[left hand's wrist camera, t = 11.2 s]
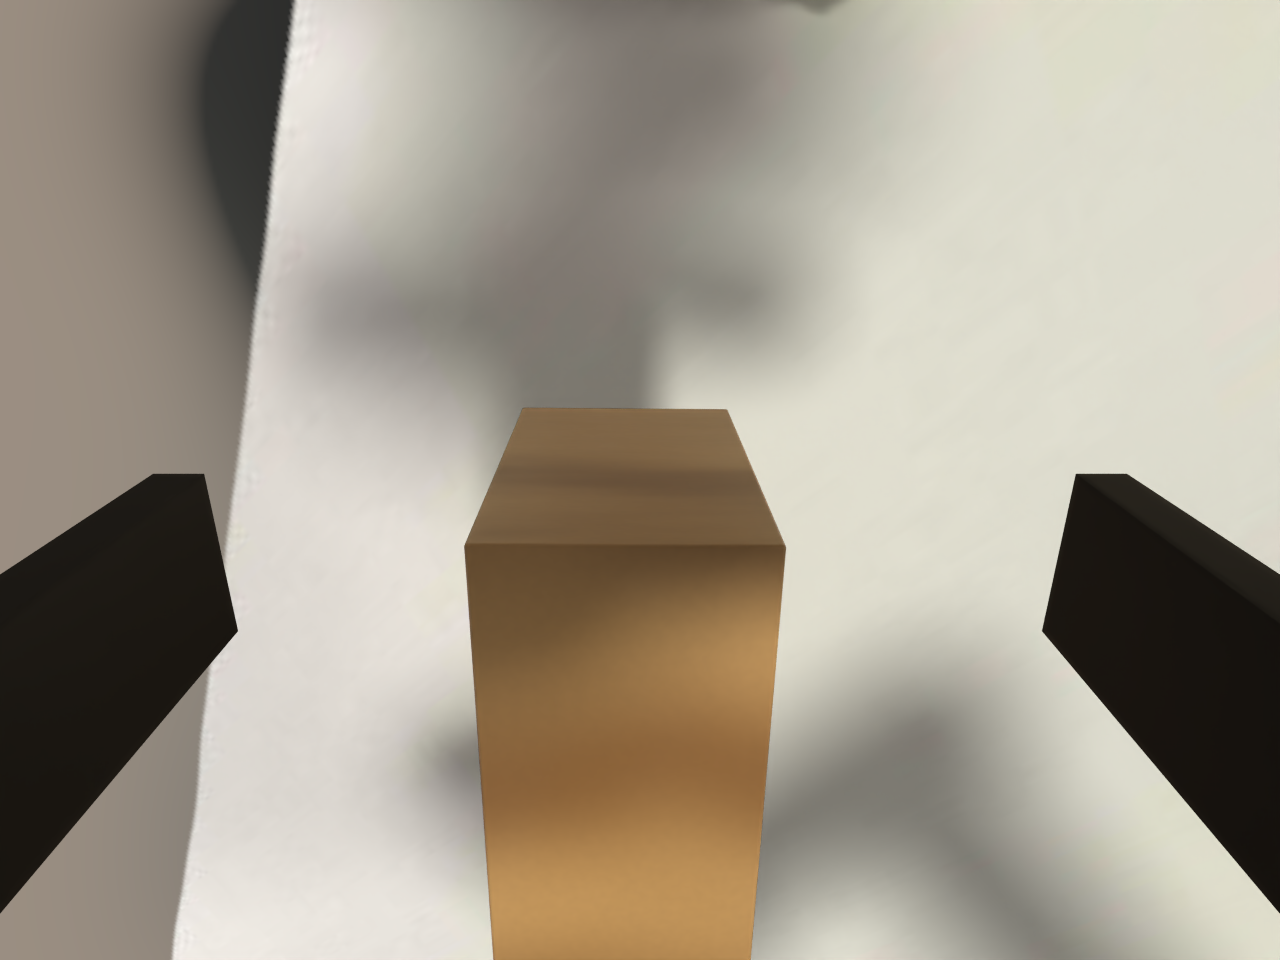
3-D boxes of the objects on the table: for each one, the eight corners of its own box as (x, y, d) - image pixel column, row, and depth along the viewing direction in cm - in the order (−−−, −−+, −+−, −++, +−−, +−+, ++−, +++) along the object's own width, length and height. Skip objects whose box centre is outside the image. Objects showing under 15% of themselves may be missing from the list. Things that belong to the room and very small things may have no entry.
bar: (522, 406, 22) (463, 544, 14) (727, 408, 22) (787, 545, 14) (546, 1007, 30) (518, 1310, 22) (695, 1006, 30) (720, 1307, 22)
